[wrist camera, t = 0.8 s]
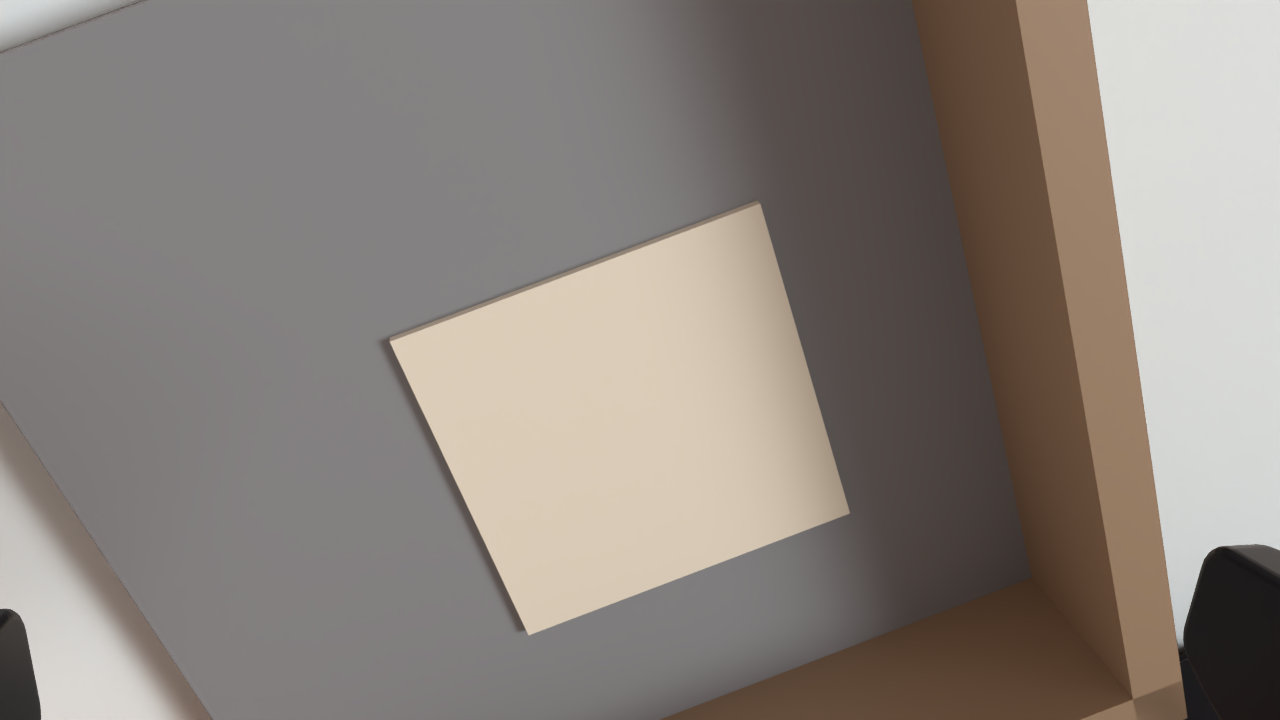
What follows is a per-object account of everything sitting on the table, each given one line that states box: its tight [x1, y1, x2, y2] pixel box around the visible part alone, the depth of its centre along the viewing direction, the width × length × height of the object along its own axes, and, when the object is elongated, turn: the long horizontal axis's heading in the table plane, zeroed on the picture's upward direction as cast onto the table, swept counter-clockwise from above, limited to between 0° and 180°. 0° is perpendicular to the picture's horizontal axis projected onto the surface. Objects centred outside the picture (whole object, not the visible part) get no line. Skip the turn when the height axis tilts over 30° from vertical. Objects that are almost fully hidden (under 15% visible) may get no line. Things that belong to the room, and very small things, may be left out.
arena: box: [0, 0, 1187, 720], centre depth 20 cm, size 18×18×5 cm
